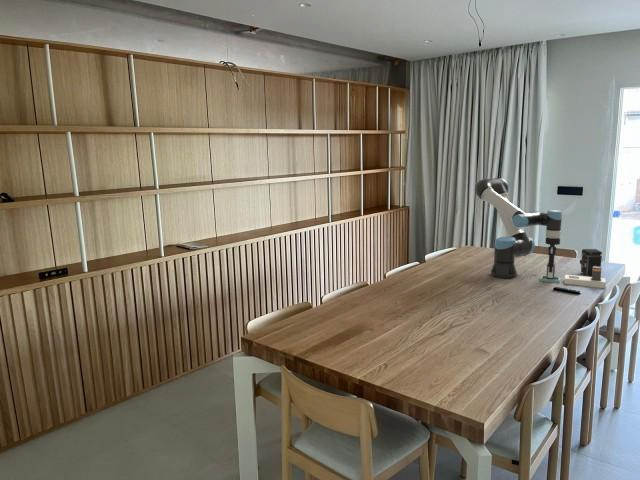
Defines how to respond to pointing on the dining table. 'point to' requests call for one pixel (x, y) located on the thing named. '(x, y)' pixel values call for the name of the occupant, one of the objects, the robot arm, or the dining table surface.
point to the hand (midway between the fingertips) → (550, 276)
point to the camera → (590, 260)
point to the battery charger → (587, 279)
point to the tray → (556, 279)
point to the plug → (553, 271)
